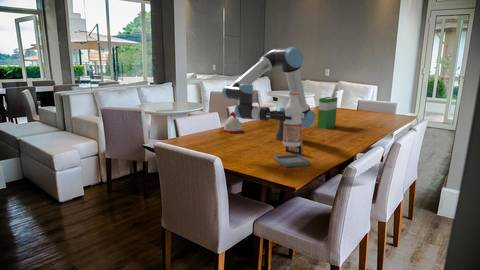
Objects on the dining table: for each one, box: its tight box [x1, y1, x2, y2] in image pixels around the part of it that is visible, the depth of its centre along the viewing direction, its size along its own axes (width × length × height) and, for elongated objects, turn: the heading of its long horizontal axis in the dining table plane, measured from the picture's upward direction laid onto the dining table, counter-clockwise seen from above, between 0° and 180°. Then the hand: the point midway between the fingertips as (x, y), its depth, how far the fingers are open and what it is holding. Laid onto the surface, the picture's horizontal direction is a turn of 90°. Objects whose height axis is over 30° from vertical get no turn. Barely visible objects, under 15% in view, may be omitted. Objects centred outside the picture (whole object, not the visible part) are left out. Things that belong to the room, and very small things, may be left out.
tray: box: [273, 153, 311, 169], centre depth 178 cm, size 15×15×2 cm
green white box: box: [317, 96, 338, 130], centre depth 270 cm, size 18×7×24 cm, turn 139°
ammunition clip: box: [285, 133, 304, 156], centre depth 195 cm, size 11×2×12 cm, turn 50°
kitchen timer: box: [223, 111, 243, 134], centre depth 252 cm, size 14×14×15 cm
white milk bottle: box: [282, 91, 302, 147], centre depth 172 cm, size 9×9×28 cm
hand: (301, 117), depth 170 cm, fingers closed on white milk bottle, 9 cm apart
